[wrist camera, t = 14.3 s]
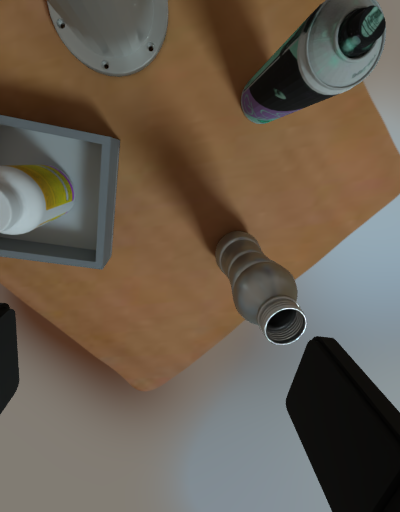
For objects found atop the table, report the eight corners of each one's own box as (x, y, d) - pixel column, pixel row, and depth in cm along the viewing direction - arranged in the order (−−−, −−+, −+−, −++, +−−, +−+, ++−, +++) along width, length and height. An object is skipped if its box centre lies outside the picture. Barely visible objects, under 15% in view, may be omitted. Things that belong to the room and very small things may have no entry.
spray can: (236, 120, 34) (312, 70, 15) (245, 70, 32) (344, -56, 13) (276, 127, 34) (396, 89, 16) (287, 79, 33) (438, -28, 14)
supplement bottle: (37, 152, 32) (-45, 147, 20) (86, 185, 34) (37, 198, 22) (14, 197, 34) (-76, 216, 22) (62, 226, 36) (4, 259, 24)
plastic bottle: (206, 262, 40) (233, 351, 22) (222, 221, 38) (267, 280, 19) (244, 273, 41) (301, 367, 23) (261, 234, 39) (339, 302, 21)
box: (-18, 112, 31) (-52, 104, 26) (120, 140, 33) (110, 137, 29) (-7, 239, 36) (-34, 251, 32) (111, 256, 39) (102, 269, 34)
